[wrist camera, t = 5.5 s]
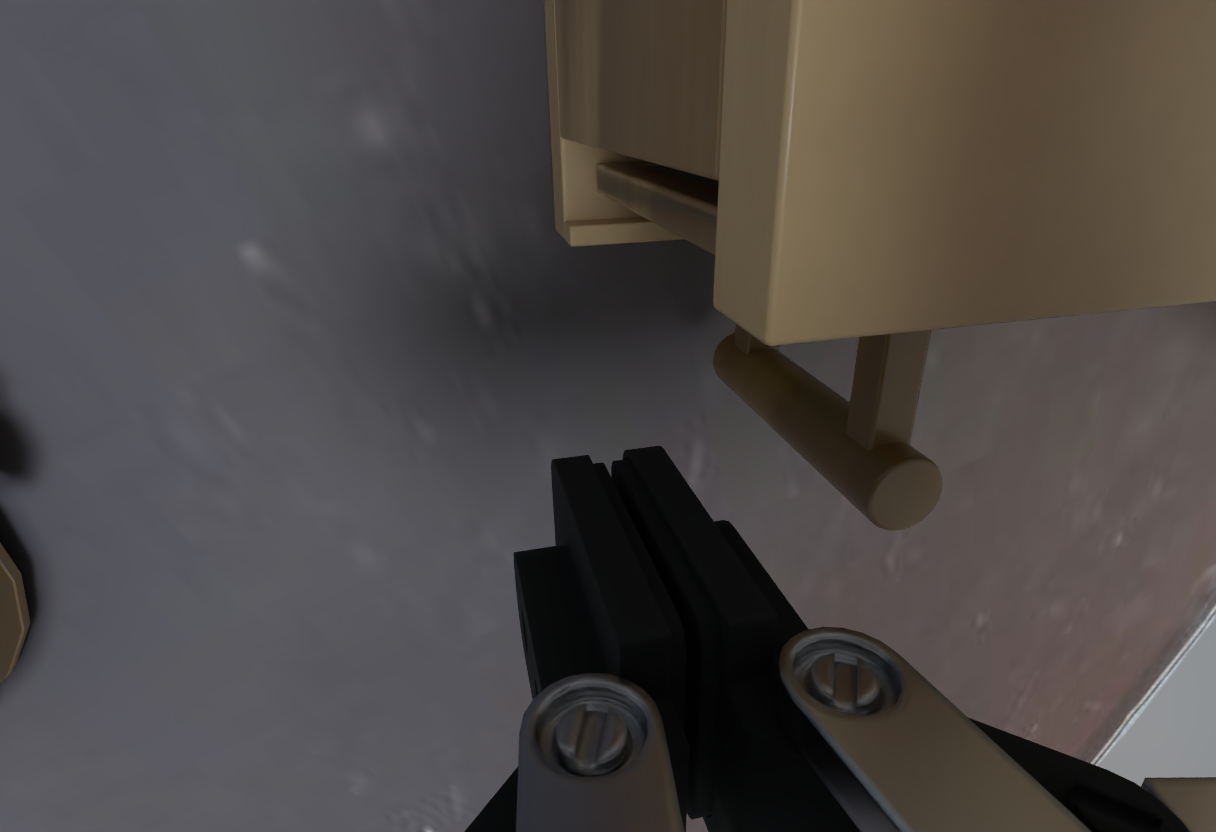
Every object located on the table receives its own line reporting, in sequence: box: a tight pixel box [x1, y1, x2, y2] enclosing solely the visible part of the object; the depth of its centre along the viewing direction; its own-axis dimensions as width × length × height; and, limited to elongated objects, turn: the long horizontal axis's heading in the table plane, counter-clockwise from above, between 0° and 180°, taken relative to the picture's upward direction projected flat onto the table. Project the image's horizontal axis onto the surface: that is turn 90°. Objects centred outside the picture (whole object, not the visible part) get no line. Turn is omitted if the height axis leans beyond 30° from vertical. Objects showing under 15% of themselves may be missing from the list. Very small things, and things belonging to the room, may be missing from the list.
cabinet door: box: [597, 161, 942, 530], centre depth 14 cm, size 8×5×9 cm, turn 91°
